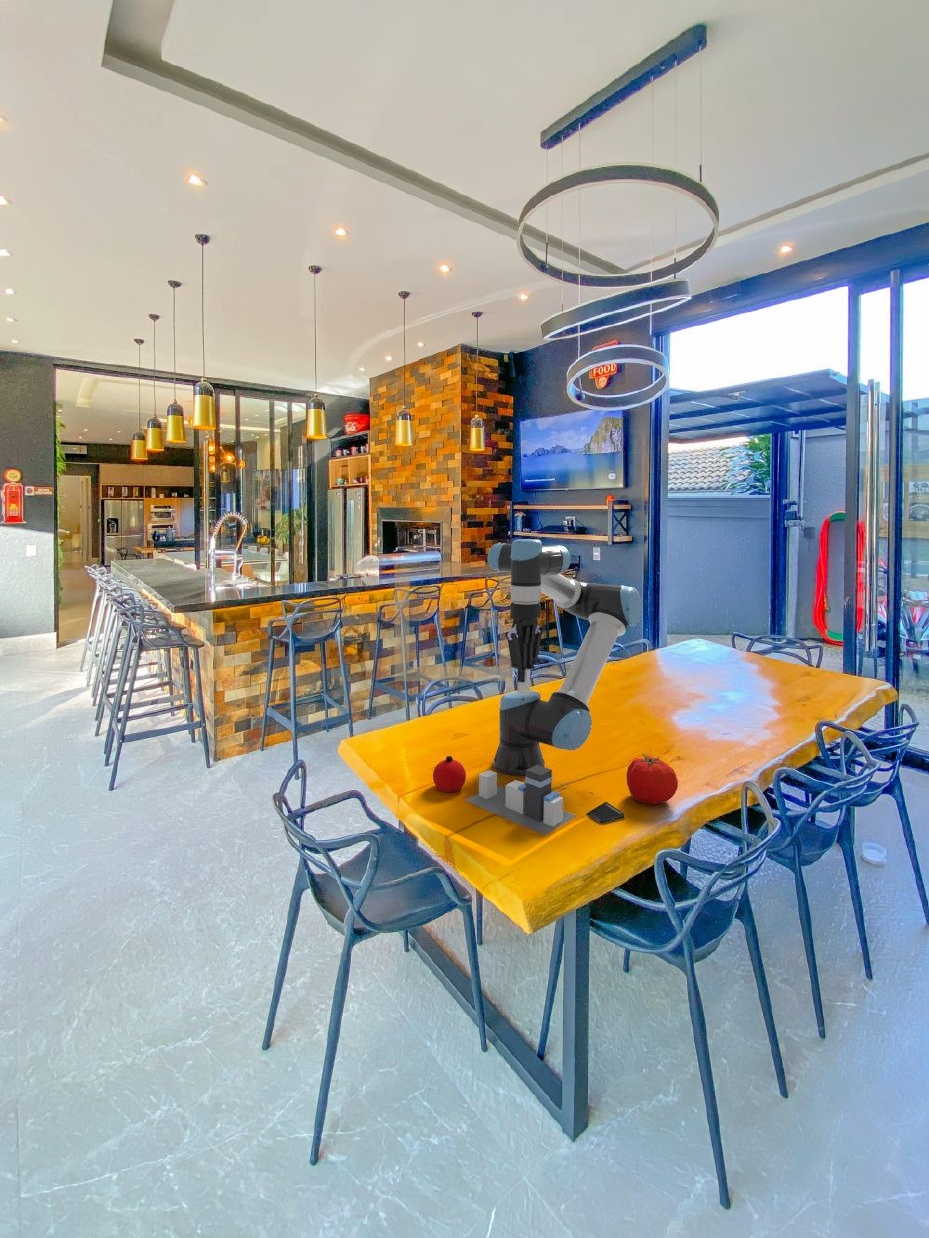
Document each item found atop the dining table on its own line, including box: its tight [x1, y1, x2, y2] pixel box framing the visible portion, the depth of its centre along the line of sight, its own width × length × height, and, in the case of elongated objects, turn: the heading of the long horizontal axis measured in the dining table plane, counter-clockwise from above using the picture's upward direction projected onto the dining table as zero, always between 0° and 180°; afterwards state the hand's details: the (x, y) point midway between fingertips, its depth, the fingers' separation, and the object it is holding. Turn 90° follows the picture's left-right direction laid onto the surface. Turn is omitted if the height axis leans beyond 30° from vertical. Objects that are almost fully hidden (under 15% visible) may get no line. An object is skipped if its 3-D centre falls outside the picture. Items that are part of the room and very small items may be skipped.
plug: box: [524, 765, 553, 822], centre depth 157 cm, size 5×5×12 cm
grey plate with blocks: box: [464, 769, 577, 838], centre depth 162 cm, size 13×26×8 cm, turn 46°
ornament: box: [432, 755, 467, 794], centre depth 173 cm, size 9×9×10 cm
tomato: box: [626, 753, 679, 805], centre depth 168 cm, size 12×13×12 cm
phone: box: [586, 791, 626, 824], centre depth 164 cm, size 8×1×15 cm
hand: (523, 693), depth 163 cm, fingers closed
